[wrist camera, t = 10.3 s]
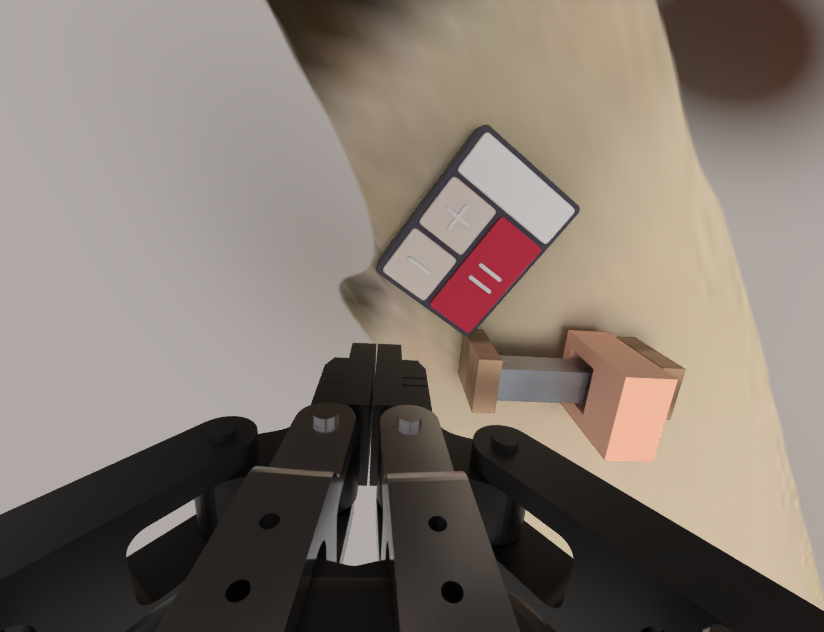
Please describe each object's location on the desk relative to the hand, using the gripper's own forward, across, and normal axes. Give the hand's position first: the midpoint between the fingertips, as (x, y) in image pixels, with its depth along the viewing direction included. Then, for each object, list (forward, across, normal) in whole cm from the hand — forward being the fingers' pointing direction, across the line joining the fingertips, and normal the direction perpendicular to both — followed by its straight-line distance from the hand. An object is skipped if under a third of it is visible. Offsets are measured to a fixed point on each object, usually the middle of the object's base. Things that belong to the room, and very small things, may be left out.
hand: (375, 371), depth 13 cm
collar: (+24, -20, +11) cm, 33 cm away
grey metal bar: (+22, -17, +11) cm, 30 cm away
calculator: (+27, -8, -1) cm, 28 cm away
